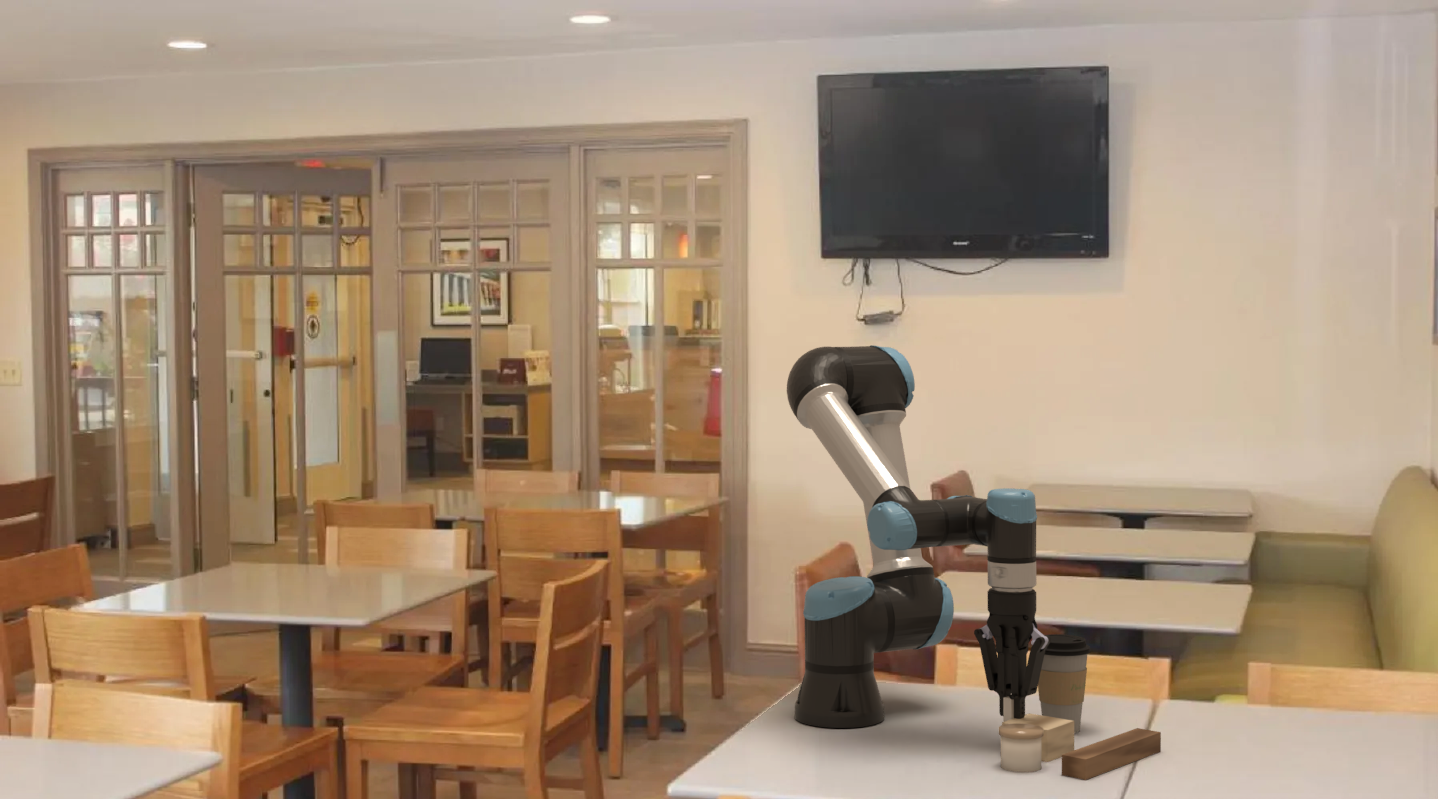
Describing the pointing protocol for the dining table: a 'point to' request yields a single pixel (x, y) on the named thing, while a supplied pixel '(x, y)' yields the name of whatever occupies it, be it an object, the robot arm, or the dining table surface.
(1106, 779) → the dining table surface
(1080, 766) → the board
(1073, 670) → the coffee cup
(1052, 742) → the block
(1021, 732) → the sugar pot
